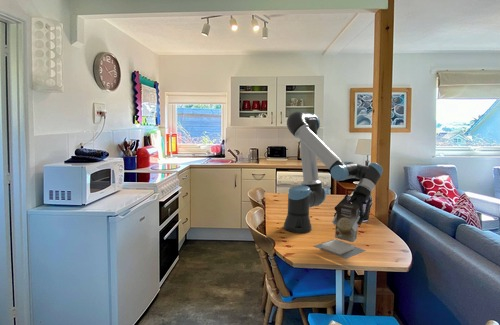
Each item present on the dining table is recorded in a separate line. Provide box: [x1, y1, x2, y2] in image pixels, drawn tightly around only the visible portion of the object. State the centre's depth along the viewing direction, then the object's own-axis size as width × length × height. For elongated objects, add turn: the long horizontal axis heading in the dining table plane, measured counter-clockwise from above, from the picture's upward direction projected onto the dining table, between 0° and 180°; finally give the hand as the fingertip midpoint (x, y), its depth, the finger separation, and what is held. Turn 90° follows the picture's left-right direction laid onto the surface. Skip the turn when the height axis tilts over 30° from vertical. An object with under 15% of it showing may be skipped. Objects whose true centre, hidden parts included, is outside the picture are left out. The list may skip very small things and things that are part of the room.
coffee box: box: [334, 203, 360, 243], centre depth 157 cm, size 9×6×16 cm
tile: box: [322, 238, 355, 255], centre depth 154 cm, size 10×2×11 cm
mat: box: [312, 238, 366, 260], centre depth 155 cm, size 18×16×1 cm
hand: (343, 226), depth 155 cm, fingers closed on coffee box, 10 cm apart
